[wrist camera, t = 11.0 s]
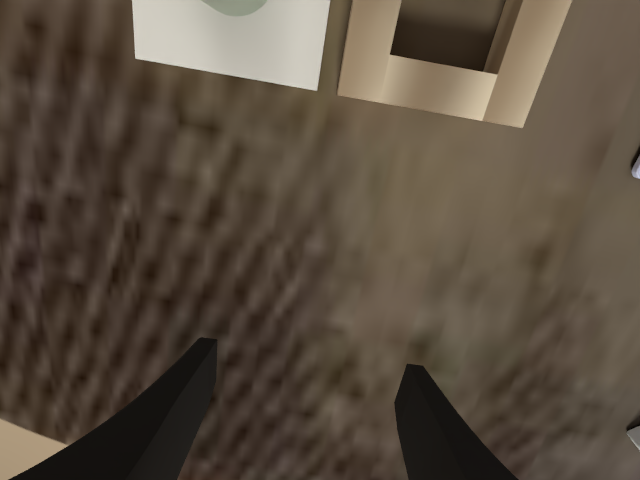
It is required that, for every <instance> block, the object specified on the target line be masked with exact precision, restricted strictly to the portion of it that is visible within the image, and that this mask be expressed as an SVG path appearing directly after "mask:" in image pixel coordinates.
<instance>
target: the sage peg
mask: <svg viewBox="0 0 640 480" xmlns="http://www.w3.org/2000/svg"><path fill="white" fill-rule="evenodd" d="M201 1H203V2H204V3H206V4H207V5H209V6H210V7H212V8H213V9H215V10H217V11H218V12H220V13H223V14H225V15H229V16H245V15H249V14H251V13H253V12H255V11H257V10H258V9H259V8H261V7H262V6H263V5H264V4H265V3H266V1H267V0H201Z"/></svg>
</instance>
